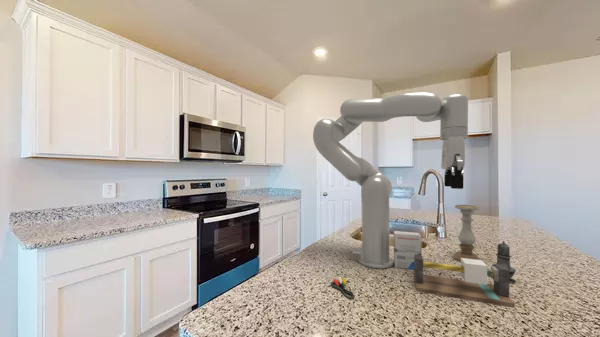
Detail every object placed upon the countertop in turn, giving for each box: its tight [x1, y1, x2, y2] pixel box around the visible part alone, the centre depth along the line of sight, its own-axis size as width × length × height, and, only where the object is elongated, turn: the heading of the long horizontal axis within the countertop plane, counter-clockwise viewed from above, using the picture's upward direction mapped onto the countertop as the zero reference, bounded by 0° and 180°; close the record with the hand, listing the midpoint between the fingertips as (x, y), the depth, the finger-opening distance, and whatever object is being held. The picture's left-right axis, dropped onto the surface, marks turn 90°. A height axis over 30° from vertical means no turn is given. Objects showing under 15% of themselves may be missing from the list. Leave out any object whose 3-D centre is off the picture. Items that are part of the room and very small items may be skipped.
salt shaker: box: [490, 240, 517, 284], centre depth 76 cm, size 6×6×12 cm
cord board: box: [412, 254, 516, 308], centre depth 69 cm, size 22×10×8 cm, turn 69°
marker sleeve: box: [460, 258, 488, 285], centre depth 67 cm, size 5×4×5 cm
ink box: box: [393, 230, 422, 270], centre depth 85 cm, size 9×5×12 cm, turn 72°
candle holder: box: [452, 204, 482, 263], centre depth 92 cm, size 9×9×20 cm
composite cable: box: [330, 275, 355, 300], centre depth 68 cm, size 10×5×2 cm, turn 8°
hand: (453, 187), depth 79 cm, fingers open, 9 cm apart
